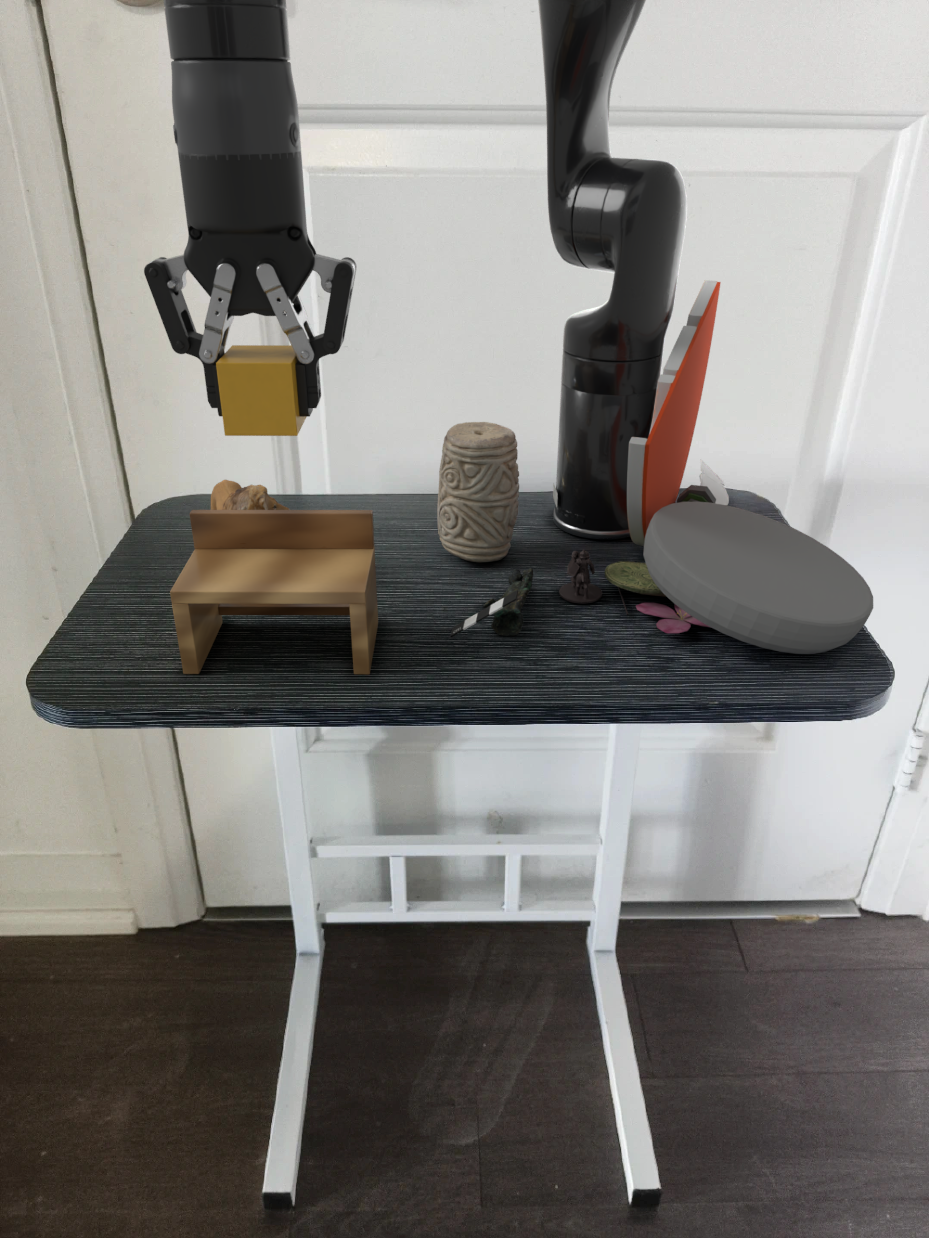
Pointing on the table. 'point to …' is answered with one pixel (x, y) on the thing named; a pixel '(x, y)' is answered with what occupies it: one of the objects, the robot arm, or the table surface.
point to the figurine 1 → (504, 607)
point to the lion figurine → (242, 497)
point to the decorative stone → (755, 578)
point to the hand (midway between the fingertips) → (266, 412)
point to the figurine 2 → (582, 581)
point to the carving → (478, 491)
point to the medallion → (632, 577)
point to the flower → (669, 617)
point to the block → (259, 391)
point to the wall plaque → (671, 419)
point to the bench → (277, 574)
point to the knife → (706, 489)
